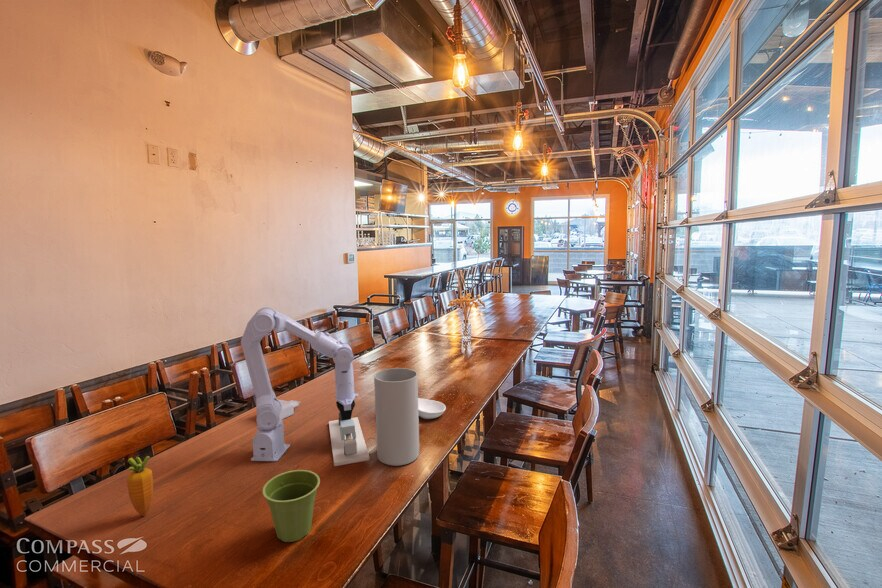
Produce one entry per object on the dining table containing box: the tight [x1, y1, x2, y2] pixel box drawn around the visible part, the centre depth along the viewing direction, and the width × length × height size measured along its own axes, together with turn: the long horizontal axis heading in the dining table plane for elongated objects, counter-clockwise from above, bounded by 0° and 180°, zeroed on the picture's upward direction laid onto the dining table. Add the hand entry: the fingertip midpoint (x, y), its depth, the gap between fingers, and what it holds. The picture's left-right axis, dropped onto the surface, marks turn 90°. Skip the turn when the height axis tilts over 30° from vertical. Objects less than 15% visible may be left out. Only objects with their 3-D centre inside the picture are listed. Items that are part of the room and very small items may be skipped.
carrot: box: [126, 455, 154, 517], centre depth 97 cm, size 5×5×15 cm
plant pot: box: [262, 469, 321, 543], centre depth 92 cm, size 12×12×11 cm
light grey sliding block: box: [340, 419, 356, 441], centre depth 129 cm, size 5×4×4 cm
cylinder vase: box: [373, 367, 420, 467], centre depth 122 cm, size 12×12×25 cm
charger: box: [255, 398, 301, 420], centre depth 155 cm, size 5×9×15 cm
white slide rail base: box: [328, 411, 370, 467], centre depth 134 cm, size 29×10×6 cm, turn 18°
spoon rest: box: [418, 397, 447, 420], centre depth 152 cm, size 24×12×7 cm, turn 84°
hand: (346, 423), depth 133 cm, fingers closed
